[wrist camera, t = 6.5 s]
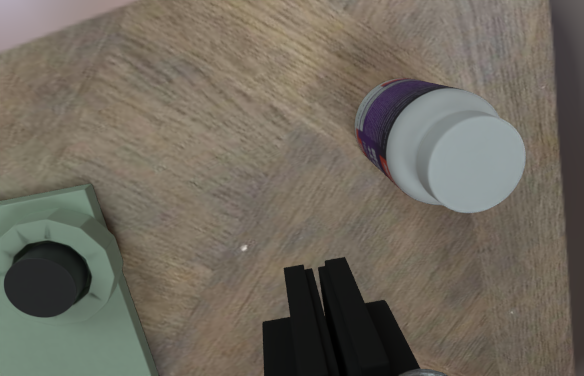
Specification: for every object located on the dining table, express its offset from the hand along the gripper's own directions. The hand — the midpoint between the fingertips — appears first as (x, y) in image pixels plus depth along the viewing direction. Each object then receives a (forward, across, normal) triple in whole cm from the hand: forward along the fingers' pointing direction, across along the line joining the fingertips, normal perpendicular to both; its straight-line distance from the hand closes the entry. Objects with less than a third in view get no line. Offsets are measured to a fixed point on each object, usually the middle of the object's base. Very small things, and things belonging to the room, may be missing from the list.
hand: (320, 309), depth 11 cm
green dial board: (+15, +18, +8) cm, 24 cm away
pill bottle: (+15, -7, -1) cm, 17 cm away
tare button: (+12, +14, +4) cm, 19 cm away
